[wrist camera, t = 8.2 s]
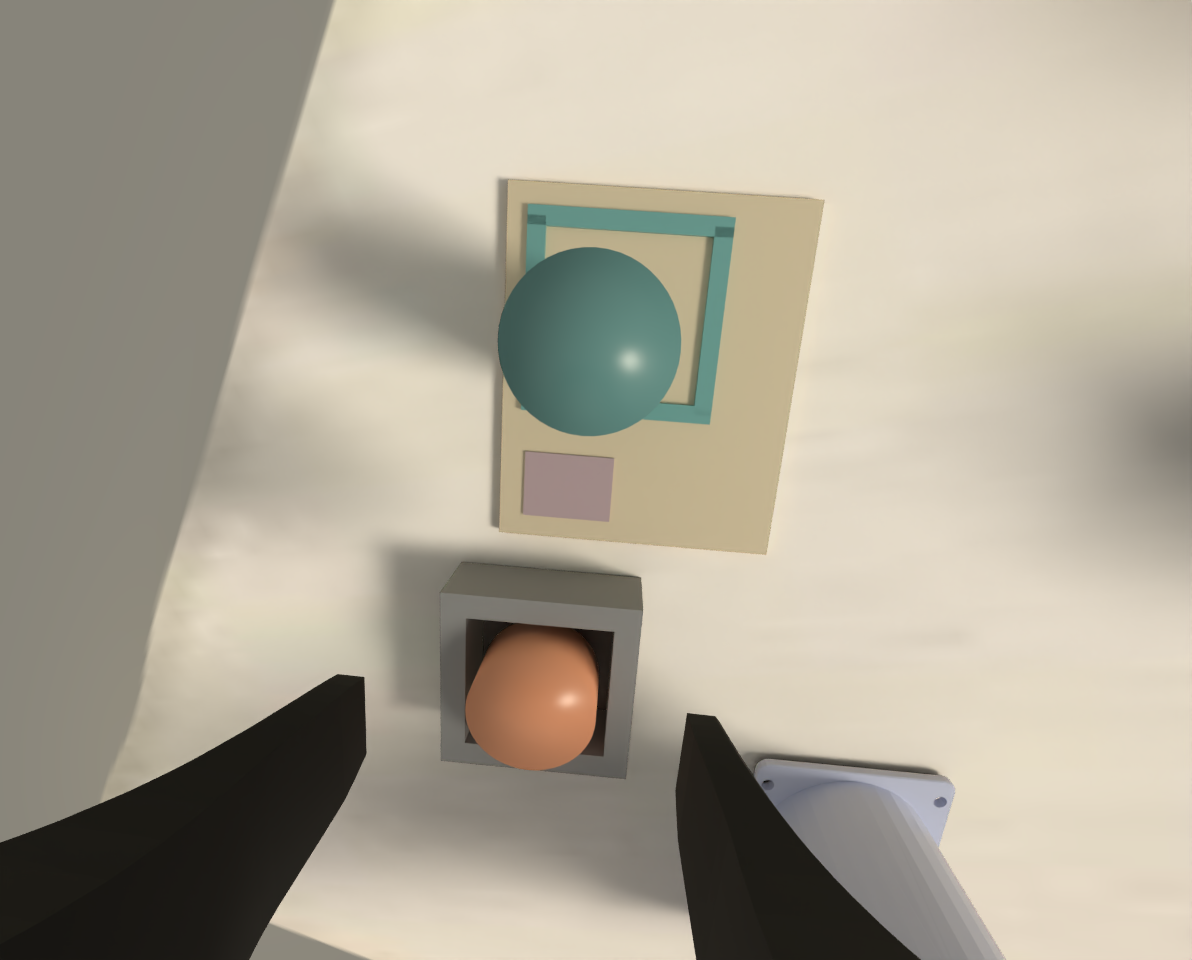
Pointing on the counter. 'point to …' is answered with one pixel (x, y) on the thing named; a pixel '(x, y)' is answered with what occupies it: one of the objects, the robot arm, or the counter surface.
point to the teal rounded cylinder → (589, 341)
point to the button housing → (550, 604)
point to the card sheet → (704, 375)
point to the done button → (534, 697)
